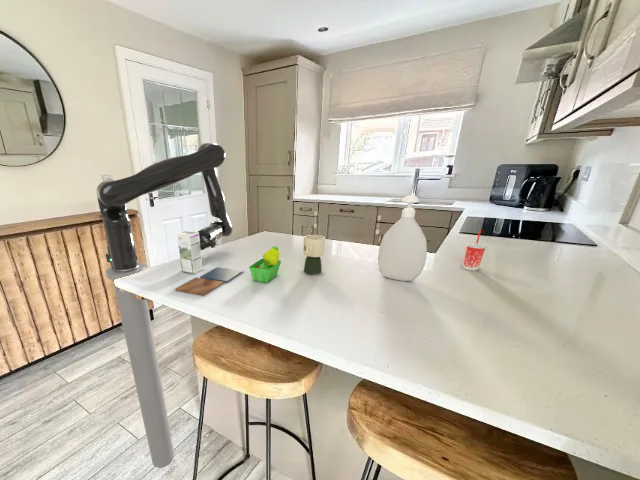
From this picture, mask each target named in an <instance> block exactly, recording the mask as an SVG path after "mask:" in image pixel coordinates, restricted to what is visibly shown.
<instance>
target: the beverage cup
mask: <svg viewBox="0 0 640 480" xmlns="http://www.w3.org/2000/svg"><path fill="white" fill-rule="evenodd" d="M481 233H482V229H479V231H478V234H477V238H476V241H468V242H465V246H466V247H465V252H464V259H463V263H462V268H463V269H464V270H467V271H479V268H480V266H481V262H482V260H483V256H484V254H485V251H486V249H487V247H488V244H487V243H483V242H479V241H480V240H479V239H480V236H481Z"/></svg>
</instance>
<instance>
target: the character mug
mask: <svg viewBox="0 0 640 480" xmlns="http://www.w3.org/2000/svg"><path fill="white" fill-rule="evenodd" d="M325 243H326V237H325V236H324V235H319V234H308V235H304V236H303V255H304V256H305V261H304V265H303V272H304V273H305V274H311V275H313V274H321V273H322V271H323V270H322V269H323V268H322V258H321V257H323V256H324V254H325Z"/></svg>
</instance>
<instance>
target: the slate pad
mask: <svg viewBox="0 0 640 480" xmlns="http://www.w3.org/2000/svg"><path fill="white" fill-rule="evenodd" d="M241 274H243V271H242V270H237V269H232V268H222V267H215V268H213V269H212V270H210V271H208V272H206V273H205V274H202V275H201V276H200V277H199V278H203V279H209V280H215V281H221V282H223V283H225V284H226V283H227V284H228V283H229V282H231V281H232V280H234V279H235V278H237V277H238V276H240V275H241Z"/></svg>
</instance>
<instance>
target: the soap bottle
mask: <svg viewBox="0 0 640 480" xmlns="http://www.w3.org/2000/svg"><path fill="white" fill-rule="evenodd" d="M401 202H402V203H407V206H406V207H404V208H403V209H402V211H401V217H400V219H399V220H397V221H396V222H395V223H394V224H393V225H392V226H391V227H390V228H389V229H388V230H387V231H386V232H385V233H384V235H383V237H382V239H381V242H380V244H379V248H378V252H377V253H378V254H377V264H378V269H379V271H380V273H381V275H382V276H383V277H384V278H386V279H391V280H395V281H401V282H412V281H415V280H416V279H417V278H418V277H419V276H420V275H421V274H422V272H423V270H424V268H425V266H426V261H427V257H428V256H427V255H428V254H427V253H428V246H427V238H426V235H425V234H424V232H423V230H422V227H421V226H420V224H419V223H418V222H417V221H416V218H415V215H416V209H415V207H413V203H420V199H419V198H418V197H417V195H415V194H414V195H413V194H409V195H406V196H404V197H403V198H402V199H401Z"/></svg>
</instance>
